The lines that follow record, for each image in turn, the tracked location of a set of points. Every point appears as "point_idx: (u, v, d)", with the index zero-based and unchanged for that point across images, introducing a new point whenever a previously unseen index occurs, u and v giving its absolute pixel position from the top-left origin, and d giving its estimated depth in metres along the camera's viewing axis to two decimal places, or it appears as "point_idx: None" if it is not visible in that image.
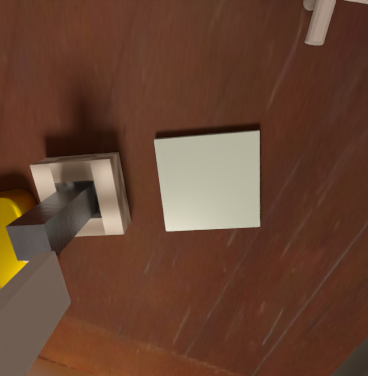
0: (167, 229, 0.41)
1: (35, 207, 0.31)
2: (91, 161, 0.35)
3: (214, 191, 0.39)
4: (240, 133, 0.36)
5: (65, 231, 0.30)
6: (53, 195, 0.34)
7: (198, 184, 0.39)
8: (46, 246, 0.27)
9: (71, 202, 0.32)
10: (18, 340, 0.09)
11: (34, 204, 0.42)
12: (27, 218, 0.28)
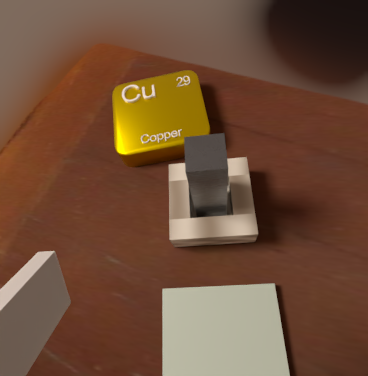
0: (164, 290, 0.35)
1: None
2: (254, 215, 0.34)
3: (214, 357, 0.31)
4: None
5: (203, 185, 0.28)
6: None
7: (223, 335, 0.32)
8: (201, 167, 0.26)
9: (225, 193, 0.30)
10: (18, 340, 0.09)
11: None
12: None
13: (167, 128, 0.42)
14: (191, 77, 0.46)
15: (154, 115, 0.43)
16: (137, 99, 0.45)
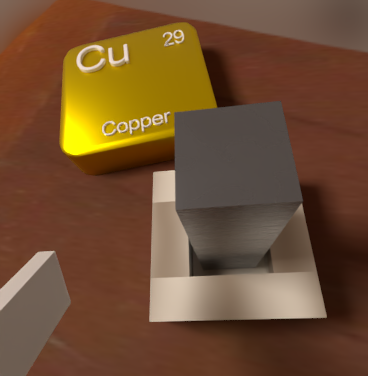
0: None
1: None
2: (315, 275, 0.18)
3: None
4: None
5: (222, 232, 0.12)
6: None
7: None
8: (221, 195, 0.09)
9: (269, 243, 0.14)
10: (18, 340, 0.09)
11: None
12: None
13: (145, 111, 0.25)
14: (185, 32, 0.29)
15: (126, 90, 0.27)
16: (100, 67, 0.28)
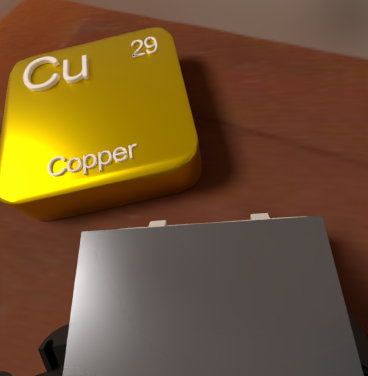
0: None
1: None
2: None
3: None
4: None
5: None
6: None
7: None
8: None
9: None
10: None
11: (171, 191, 0.21)
12: None
13: (105, 142, 0.19)
14: (159, 40, 0.23)
15: (82, 115, 0.21)
16: (52, 84, 0.22)
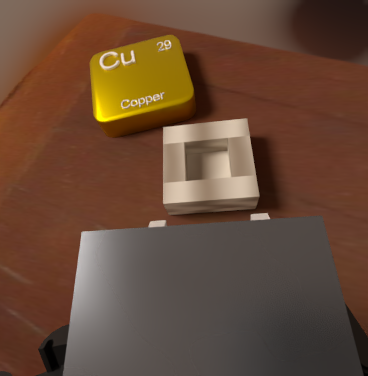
0: None
1: None
2: (254, 177, 0.32)
3: None
4: None
5: None
6: None
7: None
8: None
9: None
10: None
11: (180, 118, 0.41)
12: None
13: (148, 92, 0.39)
14: (172, 41, 0.43)
15: (134, 80, 0.41)
16: (116, 66, 0.42)
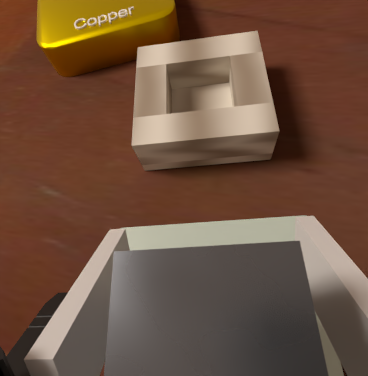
0: None
1: None
2: (271, 104, 0.21)
3: None
4: None
5: None
6: None
7: None
8: None
9: None
10: None
11: None
12: None
13: (112, 9, 0.29)
14: None
15: None
16: None
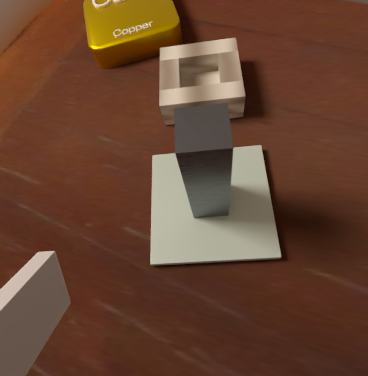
0: (154, 156, 0.36)
1: None
2: (241, 81, 0.35)
3: None
4: (276, 234, 0.30)
5: (200, 172, 0.22)
6: None
7: None
8: (196, 146, 0.19)
9: (229, 184, 0.24)
10: (18, 340, 0.09)
11: None
12: None
13: (138, 23, 0.43)
14: None
15: (125, 14, 0.45)
16: (107, 4, 0.46)
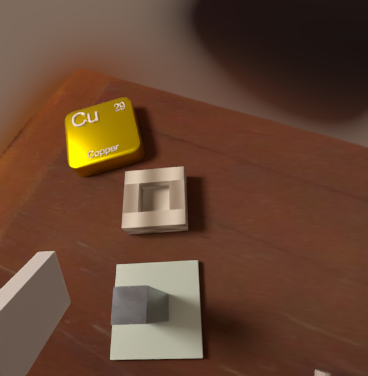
0: (118, 266, 0.47)
1: (155, 291, 0.35)
2: (184, 210, 0.46)
3: None
4: (200, 338, 0.41)
5: None
6: (161, 294, 0.39)
7: None
8: (124, 320, 0.30)
9: (156, 322, 0.35)
10: (18, 340, 0.09)
11: (132, 161, 0.56)
12: (150, 297, 0.32)
13: (107, 145, 0.54)
14: (125, 103, 0.59)
15: (97, 135, 0.56)
16: (84, 123, 0.57)
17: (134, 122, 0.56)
